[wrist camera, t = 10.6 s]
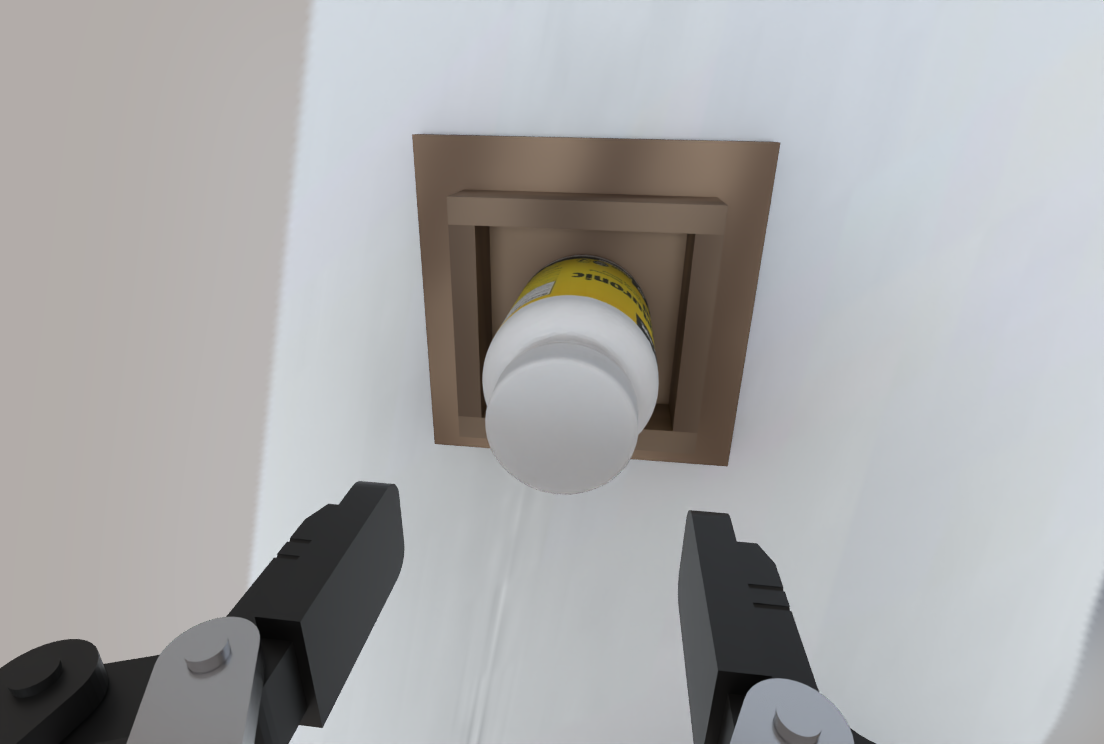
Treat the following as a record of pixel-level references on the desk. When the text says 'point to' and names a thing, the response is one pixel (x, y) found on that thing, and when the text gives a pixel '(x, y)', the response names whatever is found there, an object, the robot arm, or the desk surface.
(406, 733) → the desk surface
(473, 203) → the cup holder
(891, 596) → the desk surface
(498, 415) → the supplement bottle
